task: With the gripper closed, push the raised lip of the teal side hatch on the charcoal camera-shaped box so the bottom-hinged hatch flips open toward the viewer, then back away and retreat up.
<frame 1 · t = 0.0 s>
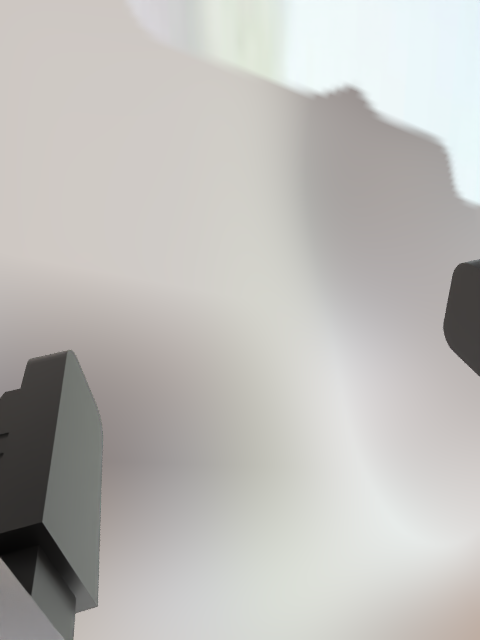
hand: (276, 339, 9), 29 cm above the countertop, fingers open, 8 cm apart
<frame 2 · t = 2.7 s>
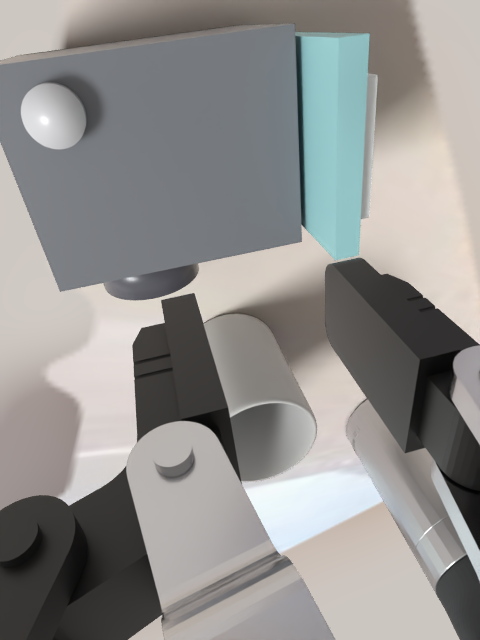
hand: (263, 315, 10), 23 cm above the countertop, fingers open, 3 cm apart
side door: (305, 131, 24), point 7 cm above the countertop, hinge at 0.0°
mug: (223, 365, 41), on the countertop
camera box: (151, 130, 29), on the countertop
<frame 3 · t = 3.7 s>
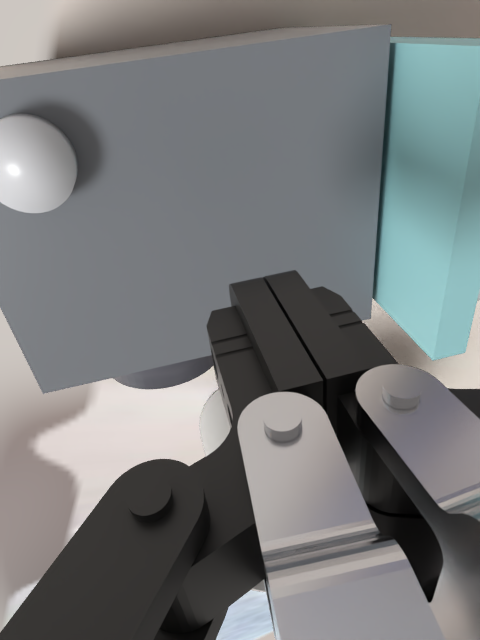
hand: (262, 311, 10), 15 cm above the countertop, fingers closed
side door: (376, 170, 18), point 7 cm above the countertop, hinge at 0.0°
mug: (245, 428, 35), on the countertop
camera box: (166, 161, 23), on the countertop
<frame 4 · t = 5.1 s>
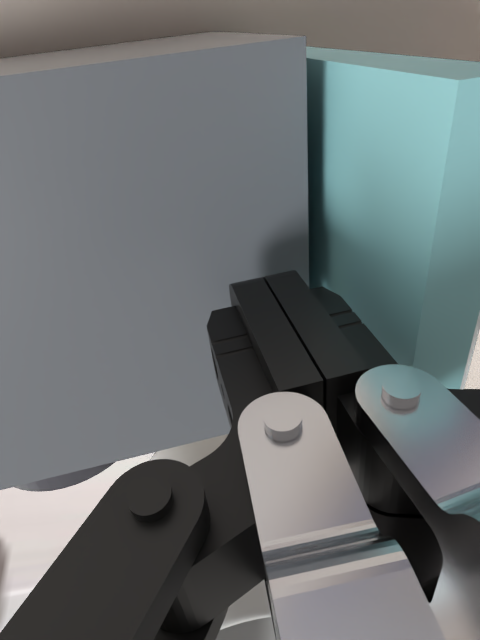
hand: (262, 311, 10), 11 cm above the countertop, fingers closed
side door: (324, 220, 14), point 7 cm above the countertop, hinge at 1.5°, touching gripper
mug: (199, 484, 31), on the countertop
camera box: (75, 194, 18), on the countertop
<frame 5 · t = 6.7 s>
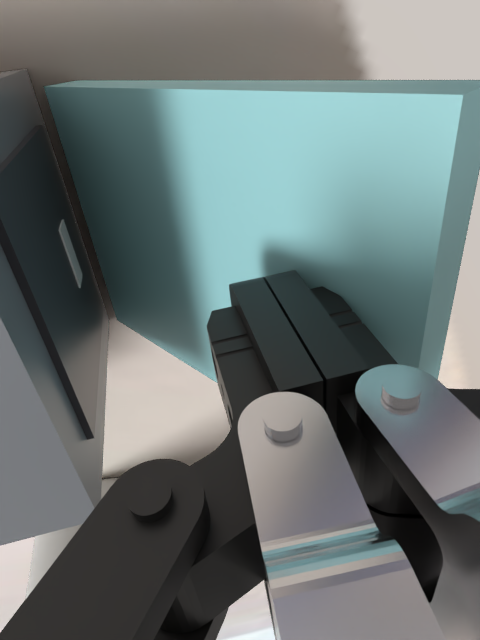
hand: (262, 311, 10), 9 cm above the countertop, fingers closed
side door: (224, 253, 13), point 6 cm above the countertop, hinge at 32.8°, touching gripper
mug: (105, 535, 29), on the countertop
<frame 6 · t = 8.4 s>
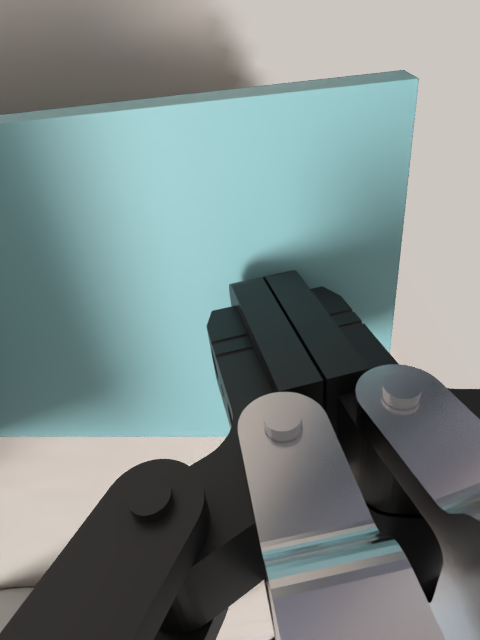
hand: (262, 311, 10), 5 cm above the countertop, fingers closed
side door: (132, 293, 12), point 2 cm above the countertop, hinge at 71.4°, touching gripper
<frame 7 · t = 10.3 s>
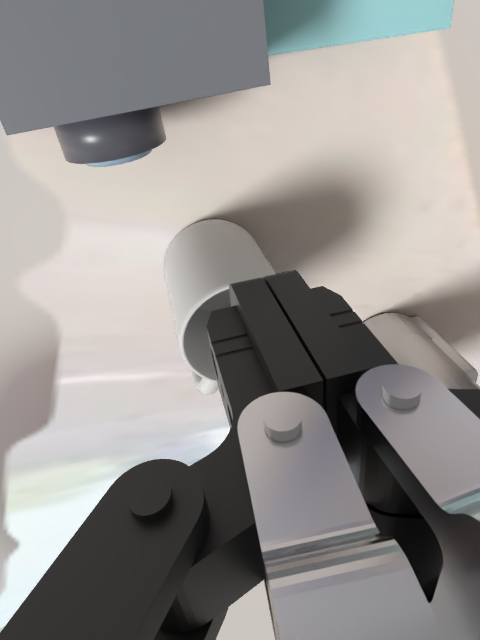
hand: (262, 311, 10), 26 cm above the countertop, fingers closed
mug: (206, 281, 39), on the countertop
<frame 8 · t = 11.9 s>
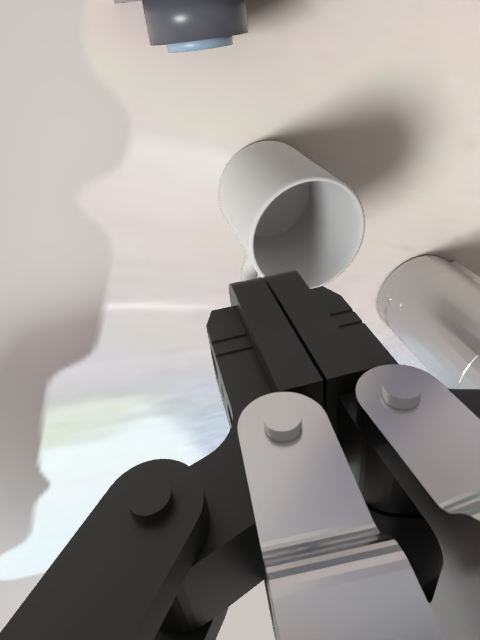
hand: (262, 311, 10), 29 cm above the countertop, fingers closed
mug: (257, 208, 40), on the countertop
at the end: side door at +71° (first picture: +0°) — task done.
